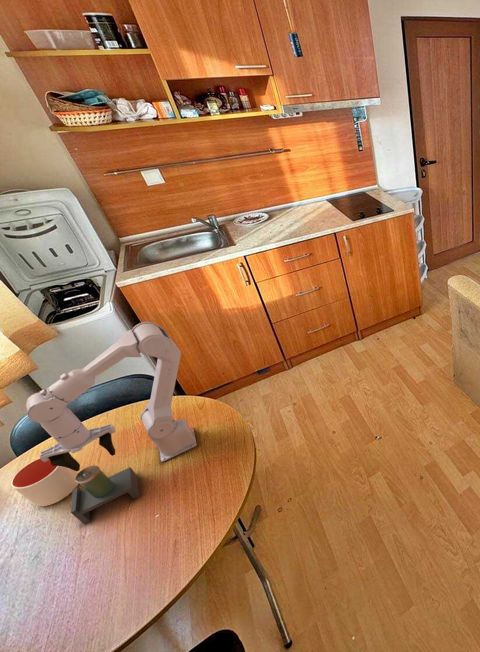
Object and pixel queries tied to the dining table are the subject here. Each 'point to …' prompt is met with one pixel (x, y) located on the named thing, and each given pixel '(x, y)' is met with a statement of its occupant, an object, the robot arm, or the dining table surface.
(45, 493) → the cup
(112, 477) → the grey channel-top block
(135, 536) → the dining table surface
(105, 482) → the canister
